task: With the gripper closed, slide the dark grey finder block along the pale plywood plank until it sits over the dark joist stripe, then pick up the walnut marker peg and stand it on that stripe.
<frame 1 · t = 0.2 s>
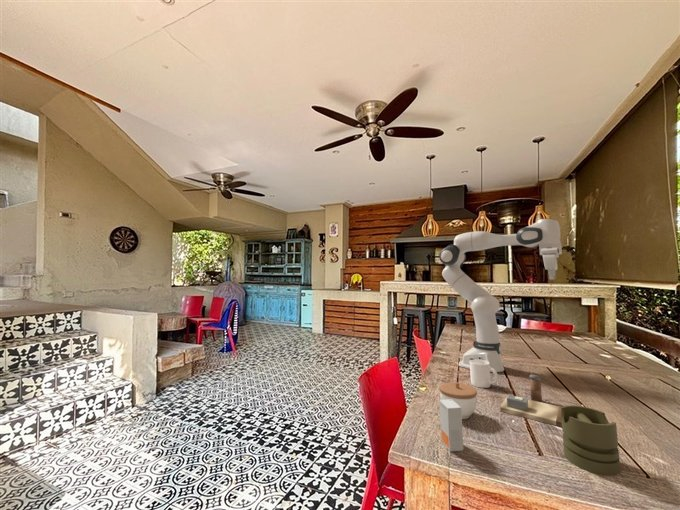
hand: (552, 279, 139), 48 cm above the table, tool pointing down, fingers open, 8 cm apart
skincare box: (451, 446, 84), on the table
finder: (517, 407, 105), point 1 cm above the table, touching plank
piston: (590, 462, 76), on the table
mug: (484, 386, 130), on the table
marker peg: (536, 400, 114), on the table
lidded bowl: (458, 414, 103), on the table
plank: (542, 413, 103), on the table
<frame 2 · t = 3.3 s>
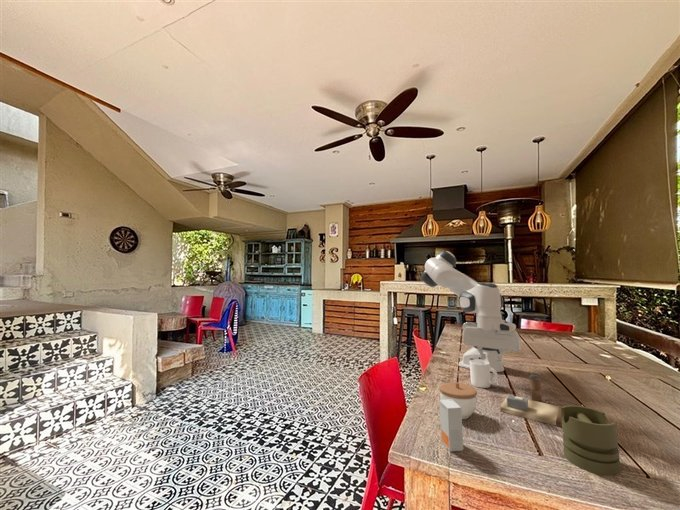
hand: (491, 359, 112), 17 cm above the table, tool pointing down, fingers open, 4 cm apart
nothing on the table moved.
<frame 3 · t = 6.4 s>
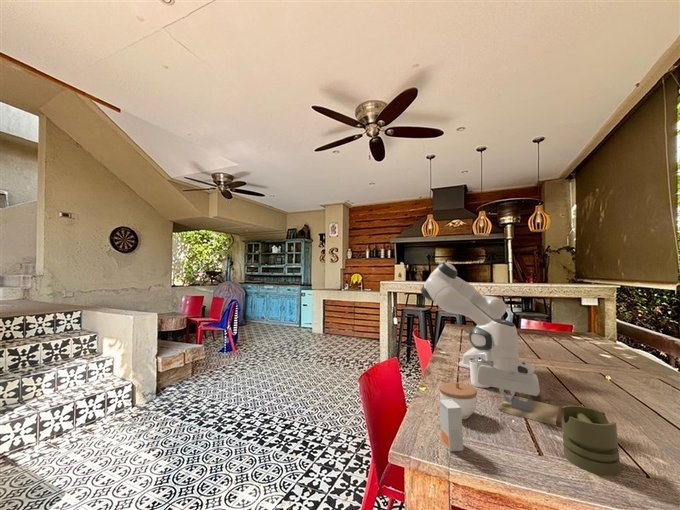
hand: (508, 401, 107), 3 cm above the table, tool pointing down, fingers closed
finder: (522, 408, 104), point 1 cm above the table, touching gripper, plank
everything else where it was.
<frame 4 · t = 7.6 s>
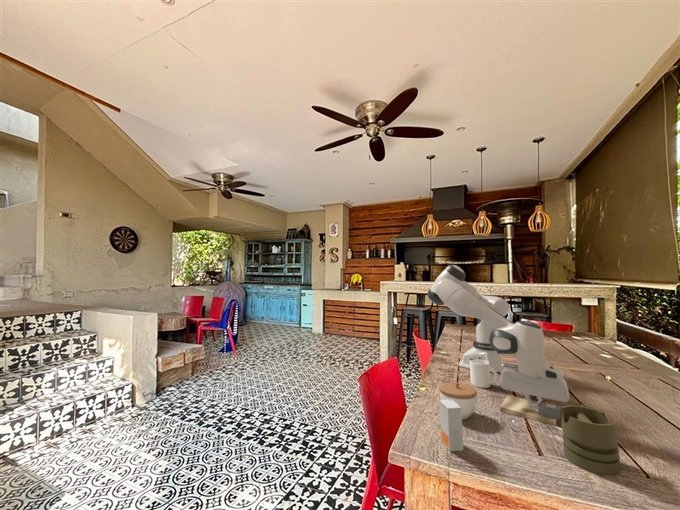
hand: (534, 407, 102), 3 cm above the table, tool pointing down, fingers closed
finder: (549, 415, 99), point 2 cm above the table, touching gripper
everything else where it was.
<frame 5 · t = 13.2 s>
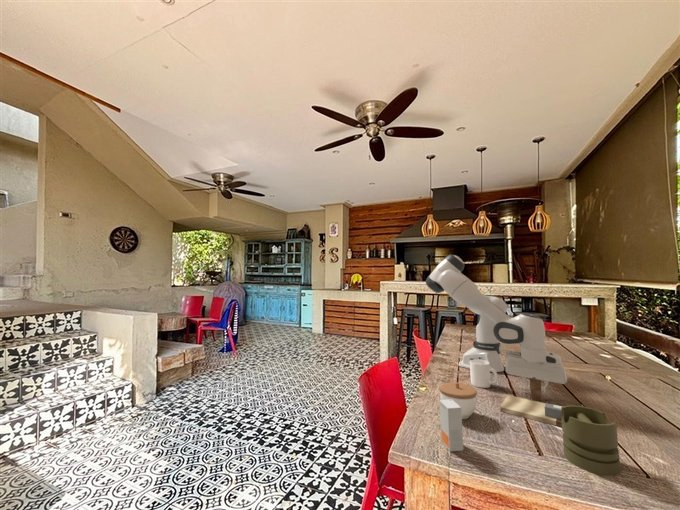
hand: (535, 390, 114), 4 cm above the table, tool pointing down, fingers closed on marker peg, 4 cm apart
finder: (556, 416, 98), point 1 cm above the table, touching plank
marker peg: (536, 400, 114), on the table, touching gripper
everything else where it was.
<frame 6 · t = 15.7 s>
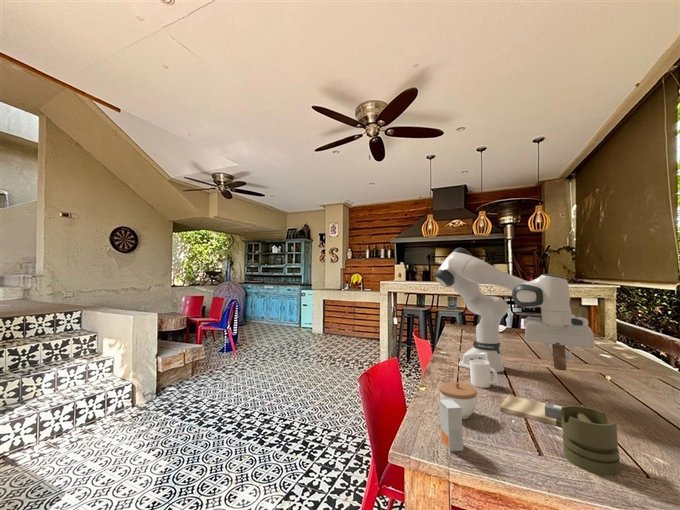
hand: (559, 357, 104), 20 cm above the table, tool pointing down, fingers closed on marker peg, 4 cm apart
marker peg: (560, 368, 103), point 16 cm above the table, touching gripper
everything else where it was.
when the fingers open (7 cm above the table, at t = 18.3 s): marker peg stays where it is, resting on plank.
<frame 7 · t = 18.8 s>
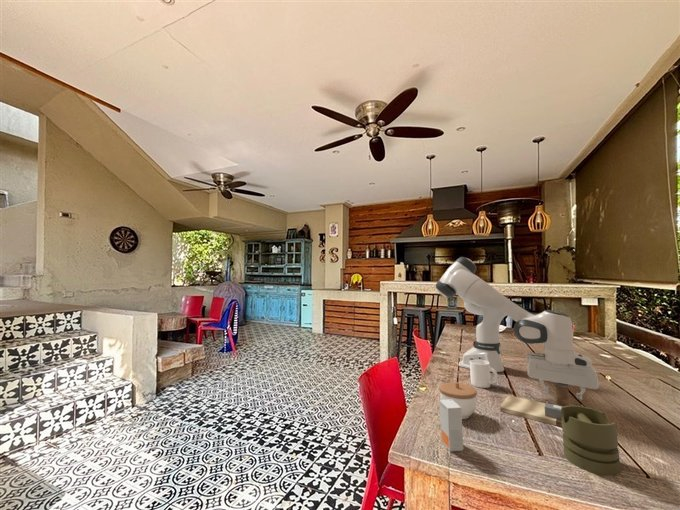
hand: (562, 395, 103), 7 cm above the table, tool pointing down, fingers open, 8 cm apart
marker peg: (563, 410, 102), point 1 cm above the table, touching plank
everything else where it was.
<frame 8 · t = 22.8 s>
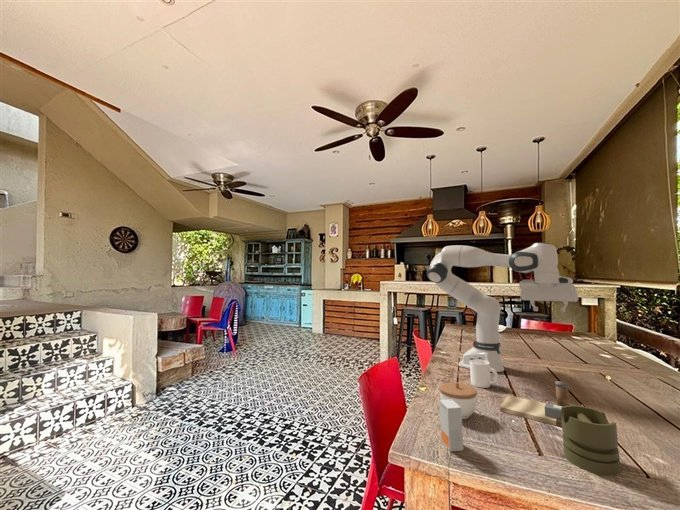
hand: (549, 311, 123), 34 cm above the table, tool pointing down, fingers open, 8 cm apart
nothing on the table moved.
at the end: marker peg inside the target area (0.0 cm from its centre), point 1.5 cm above the table; marker peg tilted 0°; finder moved 11.4 cm from its start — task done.
